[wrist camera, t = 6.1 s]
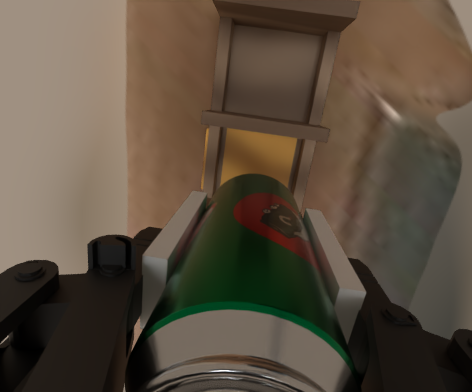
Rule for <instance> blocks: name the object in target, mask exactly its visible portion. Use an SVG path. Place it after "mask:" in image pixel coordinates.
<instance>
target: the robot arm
mask: <svg viewBox="0 0 472 392" xmlns="http://www.w3.org/2000/svg"><path fill="white" fill-rule="evenodd" d="M206 202H207V193H205V192H198V191H192V193H191V194H190V195H189V196H188V198H187V199H186V200H185V202H184V203H183V204H182V205H181V207H180V208H179V209H178V210H177V212H176V213H175V214H174V216H173V217H172V218H171V219H170V221H169V222H168V223H167V224H166V226H165V227H164V228H163V229H160V228H154V227H148V228H146V229H144V230H141V231H140V232H139V233H138V234H137V235H136V236H135V237H134V239H132V238H130V237H128V236H124V235H106V236H101V237H98V238H96V239H94V240H92V241H91V242H90V243H89V244H88V271H87V273H85V274H71V275H69V274H68V275H59V271H58V266H57V265H56V264H55V263H54V262H51V261H48V260H33V261H32V260H31V261H26V262H24V263H20V264H17V265H15V266H13V267H11V268H9V269H7V270H6V271H4V272H3V273H1V274H0V343H1V342H2V341H3V340H4V339H5V338H6V337H7V336H9V337H8V338H7V339H6V340H5V341H4V342H3V343H2V344H0V392H123V388H124V383H125V370H126V366H127V362H128V358H129V356H130V354H131V349H132V345H133V340H134V326H135V324H136V322H137V320H138V319H139V317H140V328H141V329H144V327H145V325H146V323H147V321H148V319H149V317H150V315H151V313H152V311H153V309H154V308H155V306H156V304H157V302H158V300H159V298H160V296H161V294H162V292H163V290H164V288H165V287H166V285H167V283H168V281H169V279H170V277H171V275H172V273H173V271H174V269H175V267H176V266H177V264H178V262H179V260H180V258H181V256H182V254H183V252H184V250H185V248H186V246H187V245H188V243H189V241H190V239H191V237H192V235H193V233H194V231H195V229H196V227H197V225H198V224H199V222H200V220H201V218H202V216H203V214H204V212H205V210H206ZM303 223H304V225H305V228H306V231H307V234H308V237H309V239H310V242H311V245H312V248H313V250H314V253H315V256H316V259H317V262H318V264H319V267H320V270H321V273H322V276H323V278H324V281H325V284H326V287H327V289H328V292H329V295H330V298H331V301H332V303H333V306H334V309H335V312H336V315H337V317H338V320H339V323H340V326H341V329H342V331H343V334H344V337H345V340H346V342H347V345H348V348H349V351H350V354H351V356H352V359H353V362H354V365H355V368H356V370H357V373H358V377H359V381H360V384H361V388H362V392H472V331H471V330H467V329H458V330H456V331H455V332H454V334H453V336H452V338H451V340H448V339H445V338H443V337H440V336H438V335H434V334H432V333H429V332H427V331H425V330H423V329H422V327H421V324H420V323H419V321H418V320H417V318H416V317H415V316H414V315H412V314H411V313H410V312H409V311H407V310H406V309H404V308H402V307H401V306H398V305H396V304H393V303H391V302H390V300H389V298H388V297H387V295H386V294H385V292H384V291H383V289H382V288H381V286H380V285H379V284H378V282H377V280H376V279H375V277H373V274H372V273H371V271H370V270H369V268H368V267H367V266H366V265H365V264H363V263H362V262H361V261H360V260H358V259H353V258H347V257H346V255H345V253H344V251H343V249H342V248H341V246H340V244H339V242H338V241H337V239H336V237H335V235H334V233H333V232H332V230H331V228H330V226H329V225H328V223H327V221H326V219H325V217H324V216H323V214H322V212H321V210H315V209H308V208H306V209H305V213H304V218H303Z"/></svg>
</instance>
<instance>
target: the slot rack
mask: <svg viewBox="0 0 472 392" xmlns="http://www.w3.org/2000/svg"><path fill="white" fill-rule="evenodd" d="M213 2H214V4H215V6H216V9H217V11H218V13H219V15H220V25H219V34H218V44H217V54H216V64H215V74H214V84H213V94H212V104H211V110H207V111H202V119H201V124H204V125H209V128H207V131H206V141H205V151H204V161H203V172H202V182H201V189H203V192H205V193H207V202H206V208H207V206H208V204H209V203H210V201H211V199H212V197H213V195H214V193H215V192H216V191H217V189H218V188H219V187H220V186H221V185H222V184H223V183H225V182H226V181H228V180H229V179H231V178H233V177H236V176H239V175H242V174H249V173H251V174H263V175H267V176H270V177H272V178H274V179H276V180H278V181H279V182H281V183H282V184H283V185H285V186H286V187H287V188H288V189H289V191H290V192H291V193H292V195H293V197H294V199H295V201H296V203H297V206H298V209H299V211H300V214H301V207H302V203H303V199H304V194H305V190H306V185H307V181H308V176H309V172H310V167H311V163H312V158H313V154H314V149H315V145H316V141H320V142H327V140H328V136H329V132H330V129H327V128H325V127H322V126H320V123H321V118H322V114H323V109H324V105H325V100H326V96H327V91H328V87H329V82H330V78H331V73H332V69H333V65H334V60H335V56H336V51H337V47H338V42H339V38H340V33H341V32H342V31H343V30H344V29H345V28H346V27H347V26H348V25H349V24H351V23H352V22H353V21H354V20H355V19H356V18H357V13H358V9H359V5H360V1H353V0H213ZM301 217H302V215H301ZM302 220H303V218H302Z"/></svg>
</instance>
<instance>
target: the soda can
mask: <svg viewBox="0 0 472 392" xmlns="http://www.w3.org/2000/svg"><path fill="white" fill-rule="evenodd" d="M125 390H126V392H362V388H361V384H360V381H359V377H358V373H357V370H356V368H355V365H354V362H353V359H352V356H351V354H350V351H349V348H348V345H347V342H346V340H345V337H344V334H343V331H342V329H341V326H340V323H339V320H338V317H337V315H336V312H335V309H334V306H333V303H332V301H331V298H330V295H329V292H328V289H327V287H326V284H325V281H324V278H323V276H322V273H321V270H320V267H319V264H318V262H317V259H316V256H315V253H314V250H313V248H312V245H311V242H310V239H309V237H308V234H307V231H306V228H305V225H304V223H303V220H302V217H301V214H300V211H299V209H298V206H297V203H296V201H295V199H294V197H293V195H292V193H291V192H290V191H289V189H288V188H287V187H286V186H285V185H283V184H282V183H281V182H279V181H278V180H276V179H274V178H272V177H270V176H267V175H263V174H251V173H249V174H242V175H239V176H236V177H233V178H231V179H229V180H228V181H226V182H225V183H223V184H222V185H221V186H220V187H219V188H218V189H217V191H216V192H215V193H214V195H213V197H212V199H211V201H210V203H209V204H208V206H207V208H206V210H205V212H204V214H203V216H202V218H201V220H200V222H199V224H198V225H197V227H196V229H195V231H194V233H193V235H192V237H191V239H190V241H189V243H188V245H187V246H186V248H185V250H184V252H183V254H182V256H181V258H180V260H179V262H178V264H177V266H176V267H175V269H174V271H173V273H172V275H171V277H170V279H169V281H168V283H167V285H166V287H165V288H164V290H163V292H162V294H161V296H160V298H159V300H158V302H157V304H156V306H155V308H154V309H153V311H152V313H151V315H150V317H149V319H148V321H147V323H146V325H145V327H144V329H143V330H142V332H141V334H140V336H139V338H138V340H137V342H136V344H135V346H134V348H133V350H132V352H131V354H130V356H129V358H128V362H127V366H126V370H125Z"/></svg>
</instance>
